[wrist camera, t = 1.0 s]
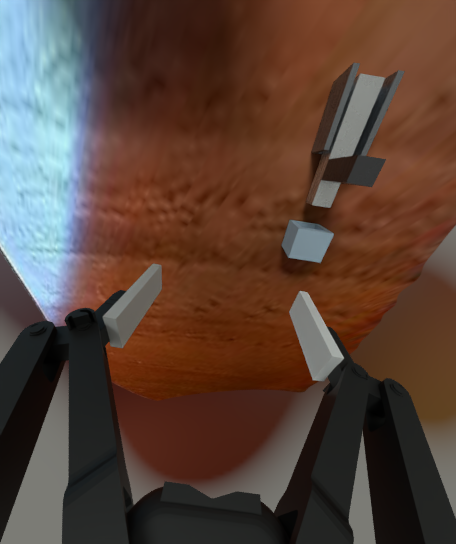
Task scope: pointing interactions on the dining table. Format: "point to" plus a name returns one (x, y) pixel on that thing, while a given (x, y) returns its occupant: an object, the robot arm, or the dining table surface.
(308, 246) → the socket
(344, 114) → the gray bent bar
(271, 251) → the dining table surface
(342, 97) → the open u-shaped channel
